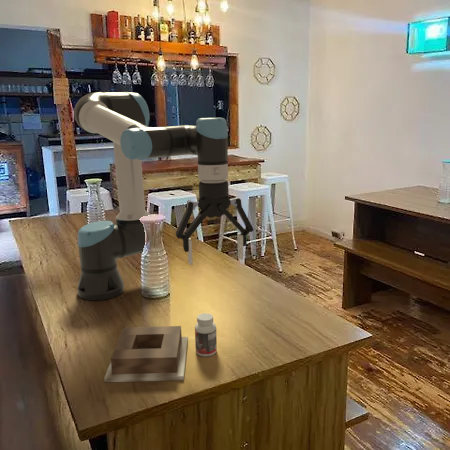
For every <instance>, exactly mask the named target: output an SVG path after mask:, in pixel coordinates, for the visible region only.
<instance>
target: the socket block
mask: <svg viewBox="0 0 450 450" xmlns="http://www.w3.org/2000/svg"><path fill="white" fill-rule="evenodd" d="M182 335H183V334H182V325H173V326H172V325H171V326H170V325H166V326H164V325H163V326H160V325H159V326H131V327H130V326H128V327H127V326H126V327H122V330H121V332H120V335H119V338H118V340H117V343H116V345H115V346H114V350H113V352H112V355H111V357H110V362H109V365H108V368H107V369H106V373H105V375H104V377H103V381H104V383H126V382H127V383H128V382H133V383H134V382H161V381H167V382H168V381H184V380H185V369H186V361H187V353H186V352H187V350H188V341H189V337H188V336H182Z"/></svg>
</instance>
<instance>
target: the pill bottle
mask: <svg viewBox="0 0 450 450" xmlns="http://www.w3.org/2000/svg"><path fill="white" fill-rule="evenodd" d="M196 322H197V323H196V324H195V326H194V337H195V338H194V339H195V343H194V344H195V353H196V354H197V355H198V356H200V357H204V358H205V357H206V358H207V357H212V356H213V355H215V354H216V353H217V351H218V350H217V347H218V346H217V342H218V341H217V325H216V323H215V322H214V316H213V314H211V313H207V312H205V313H200V314H198V315H197V317H196Z"/></svg>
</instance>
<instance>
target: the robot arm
mask: <svg viewBox="0 0 450 450" xmlns="http://www.w3.org/2000/svg"><path fill="white" fill-rule="evenodd" d="M73 117H74V120H75V122H76V123H77V125H78V126H79V127H80V128H81V129H83V130H84V131H85V132H88V133H91V134H99V135H100V136H102V137H104V138H106V140H107V139H108V140H110V141H111V142H113V143H112V145H113V153H114V165H115V175H116V185H117V186H116V187H117V193H118V194H117V197H118V207H119V212H118V214H117V215H116V216H115V223H114V222H113V221H110V220H101V221H100V220H99V221H94V222H90V223H87V224H85V225H83V226H81V228H79V229H78V232H77V246H78V254H79V256H78V257H79V264H80V275H79V280H78V285H77V295H78V297H79V299H80V298H81V299H82V300H87V301H104V300H108V299H113V298H115V297H118V296H120V295H121V294H122V293H123V292H124V290H125V283H124V280H123V277H122V275H121V273H120V272H119V271H120V270H119V269H118V264H117V260H118V259H123V258H126V257H129V256H135V255H138V254H143V253H142V252H143V248H144V245H145V232H144V227H143V224H142V223H141V222H140V220H139V219H140V218H141V217H143V216H148V215H150V216H151V213H149V212H148V211H147V210H146V203H145V190H144V189H145V187H144V177H143V164H142V160H147V159H156V158H157V159H158V158H166V157H167V158H168V157H176V156H177V157H178V156H186V155H187V156H189V155H191V156H197V176H198V180H199V182H198V201H194V200H193V201H192V200H190V199H188V200H187V201H186V209H185V211H184V214H183V216H182V218H181V220H180V223H179V224H178V226H177V230H176V231H175V237H176V238H177V240H178V239H181V240H182V243H183V244H182V247H183V248H182V249H183V251H184V252H185V253H187V262H188V264H189V265H190V266H192V265H193V261H194V260H193V243H192V242H193V240H192V239H191V236H193V234H194V232H196V230H197V228H198V227H199V226H200V225H201V223H202V222H203V221H205V219H206V218H215V217H217V218H222V216H225V217H226V219H228V220H229V221H230V223H232V224H233V226H234V227H235V228H236V229H237V230H238V231H239V232H237V257H238V258H239V259H240V260H244V247H246V246H247V245H248V244H247V236H248V235H249V234H250V233H252V232H254V226H253V225H252V224H251V221H250V220H249V217H248V216H247V214H246V212H245V210H244V209H243V206H242V199H241V198H240V197H238V196H235V197H233V198H230V197H229V196H230V195H229V181H228V178H229V165H228V162H229V161H228V160H229V159H228V156H229V154H228V153H229V152H228V150H229V147H228V137H229V136H228V135H229V133H228V124H227V120H226V119H225V118H224V117H200V118H197V120H196V125H191V124H190V125H189V124H179V125H173V126H169V125H168V126H154V127H152V126H149V124H150V118H151V117H150V110H149V106H148V104H147V101H146V100H145V99H144V97H143V96H142V95H141V94H139V93H138V92H131V91H130V92H128V91H123V92H122V91H121V92H120V91H119V92H114V91H113V92H109V91H108V92H105V91H104V92H101V91H98V92H97V91H95V92H90V93H87V94H86V95H85V94H84V96H82V97H80V98H79V100H78V101H77V102H76V104H75V106H74V111H73ZM231 205H232V206H233V207H235V209H236V211H237V213H238V216H239V217H240V219H241V220H242V222H243V224H244V226H245V227H243V226H242V224H241V223H239V221H238V220H237V219H236V218H235V217H234V216H233V215H232V214H231V213H230V211H229V210H228V209H229V207H230V206H231ZM197 207H198V208H199V209H200V210H199V212H198V213H197V215H196V216H195V218H194V220H193V221H192V222H191V223H190V224H189V226H188V223H189V221H190V219H191V216H192V214H193V211H195V209H196V208H197ZM187 226H188V228H187Z"/></svg>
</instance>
